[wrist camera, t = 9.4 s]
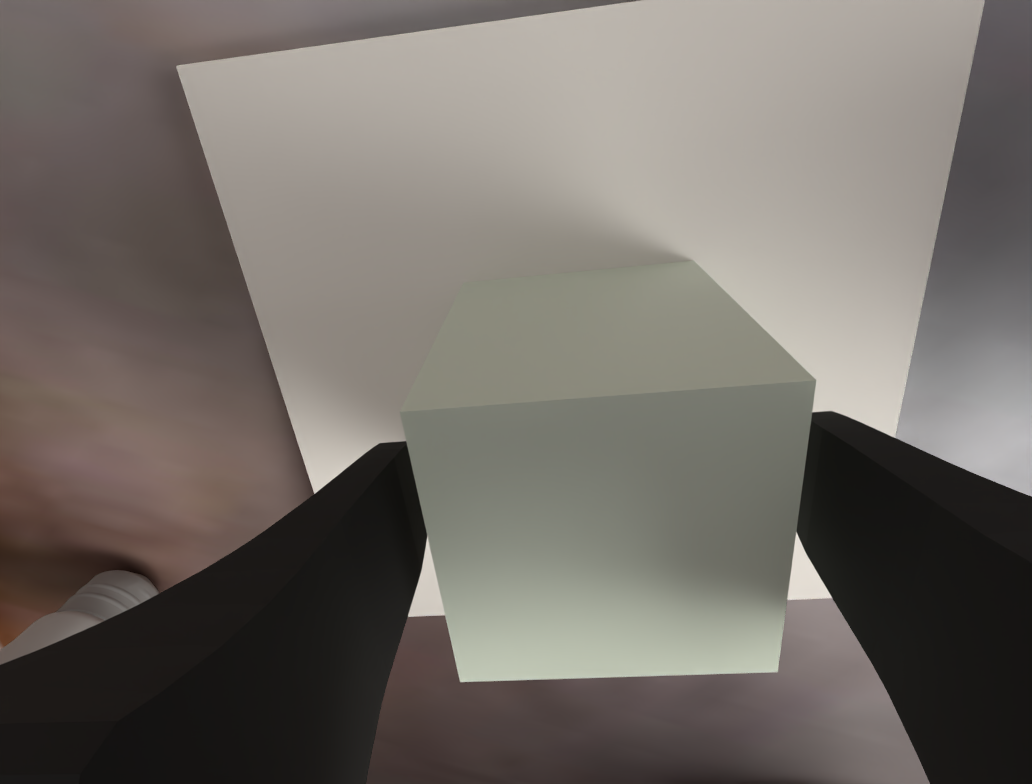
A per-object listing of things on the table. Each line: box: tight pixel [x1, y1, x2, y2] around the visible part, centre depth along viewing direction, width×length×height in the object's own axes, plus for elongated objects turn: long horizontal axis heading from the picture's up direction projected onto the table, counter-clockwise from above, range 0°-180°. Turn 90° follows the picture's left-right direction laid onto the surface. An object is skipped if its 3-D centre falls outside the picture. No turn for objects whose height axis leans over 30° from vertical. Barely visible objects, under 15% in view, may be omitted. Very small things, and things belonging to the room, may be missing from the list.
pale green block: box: [400, 260, 816, 682], centre depth 12 cm, size 5×5×7 cm
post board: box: [176, 0, 985, 617], centre depth 13 cm, size 16×16×6 cm
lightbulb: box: [0, 570, 159, 665], centre depth 15 cm, size 6×6×11 cm
